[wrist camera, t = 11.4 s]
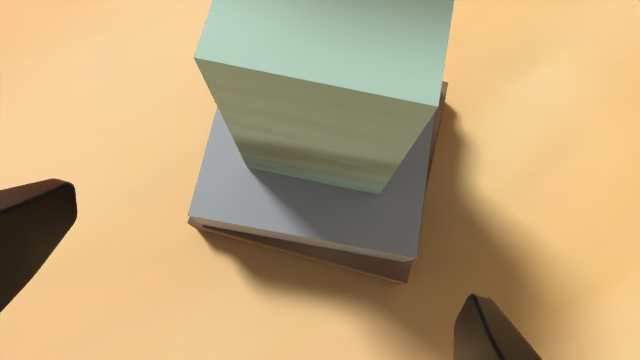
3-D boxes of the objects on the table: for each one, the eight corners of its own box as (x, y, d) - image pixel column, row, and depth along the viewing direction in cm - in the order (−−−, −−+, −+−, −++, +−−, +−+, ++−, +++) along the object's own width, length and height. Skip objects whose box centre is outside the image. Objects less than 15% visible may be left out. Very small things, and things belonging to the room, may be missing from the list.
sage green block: (379, 194, 19) (438, 106, 10) (246, 167, 19) (194, 57, 10) (400, 76, 20) (467, -89, 12) (278, 51, 21) (254, -128, 12)
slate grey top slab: (404, 262, 21) (416, 258, 18) (201, 224, 21) (187, 215, 18) (427, 79, 23) (441, 54, 21) (247, 47, 23) (241, 19, 21)
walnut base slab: (396, 284, 23) (406, 283, 20) (199, 230, 23) (187, 223, 21) (434, 102, 26) (448, 82, 23) (259, 58, 26) (254, 33, 24)
